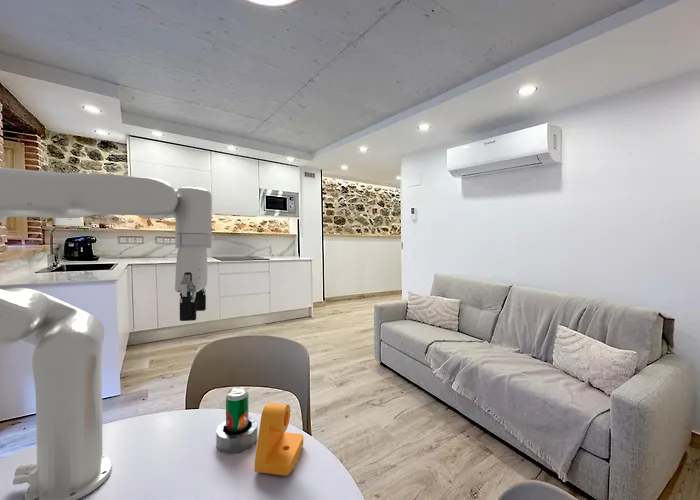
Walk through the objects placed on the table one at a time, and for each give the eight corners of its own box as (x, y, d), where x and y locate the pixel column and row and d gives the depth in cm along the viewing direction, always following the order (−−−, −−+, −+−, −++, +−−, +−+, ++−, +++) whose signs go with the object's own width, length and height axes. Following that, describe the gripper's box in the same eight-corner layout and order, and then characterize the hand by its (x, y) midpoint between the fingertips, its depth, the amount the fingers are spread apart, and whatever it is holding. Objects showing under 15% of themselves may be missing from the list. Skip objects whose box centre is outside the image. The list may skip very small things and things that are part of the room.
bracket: (288, 480, 62) (288, 421, 62) (254, 475, 64) (254, 417, 63) (304, 445, 73) (304, 395, 73) (275, 442, 74) (275, 392, 74)
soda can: (241, 449, 71) (241, 397, 71) (221, 446, 72) (221, 395, 72) (252, 435, 76) (252, 387, 76) (233, 433, 77) (233, 385, 77)
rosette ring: (213, 456, 69) (213, 441, 69) (220, 432, 78) (220, 418, 77) (256, 450, 71) (256, 435, 71) (258, 427, 80) (258, 414, 80)
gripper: (186, 241, 80) (186, 308, 80) (162, 241, 63) (162, 325, 63) (217, 242, 81) (217, 307, 82) (203, 242, 65) (202, 324, 65)
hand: (193, 315), depth 73 cm, fingers open, 9 cm apart
